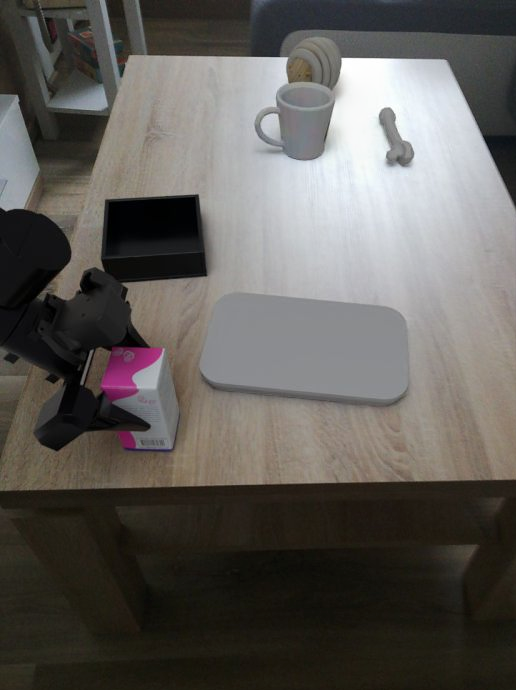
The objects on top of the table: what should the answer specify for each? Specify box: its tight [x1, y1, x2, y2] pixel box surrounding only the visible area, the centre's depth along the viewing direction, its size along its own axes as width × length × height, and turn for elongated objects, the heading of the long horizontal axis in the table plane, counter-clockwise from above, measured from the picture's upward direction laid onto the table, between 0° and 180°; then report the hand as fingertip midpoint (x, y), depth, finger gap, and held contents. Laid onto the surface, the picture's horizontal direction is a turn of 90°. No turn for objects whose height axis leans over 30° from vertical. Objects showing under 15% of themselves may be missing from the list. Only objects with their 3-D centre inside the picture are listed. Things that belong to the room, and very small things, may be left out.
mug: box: [253, 82, 336, 161], centre depth 100 cm, size 10×15×10 cm
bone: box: [378, 106, 415, 166], centre depth 106 cm, size 18×5×4 cm, turn 0°
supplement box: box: [99, 347, 181, 453], centre depth 61 cm, size 6×6×12 cm
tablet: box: [198, 291, 409, 407], centre depth 73 cm, size 16×26×2 cm, turn 85°
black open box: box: [100, 193, 208, 284], centre depth 84 cm, size 14×14×4 cm
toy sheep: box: [285, 36, 343, 92], centre depth 113 cm, size 11×17×11 cm, turn 150°
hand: (155, 396), depth 60 cm, fingers open, 8 cm apart
